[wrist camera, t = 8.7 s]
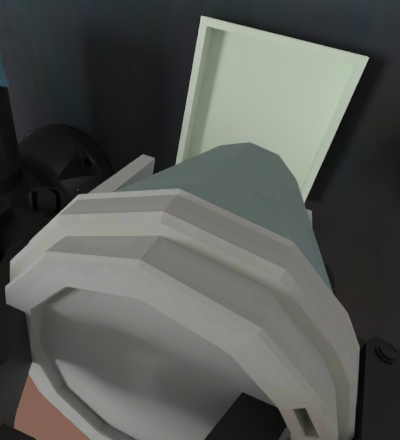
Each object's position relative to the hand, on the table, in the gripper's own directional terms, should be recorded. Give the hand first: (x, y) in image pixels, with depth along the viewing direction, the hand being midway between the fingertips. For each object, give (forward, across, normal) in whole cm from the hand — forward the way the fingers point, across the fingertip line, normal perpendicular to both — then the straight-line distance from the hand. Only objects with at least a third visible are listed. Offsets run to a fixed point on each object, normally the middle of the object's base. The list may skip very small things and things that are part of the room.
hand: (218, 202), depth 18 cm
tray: (+21, 0, +1) cm, 21 cm away
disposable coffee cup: (+3, +1, 0) cm, 3 cm away
